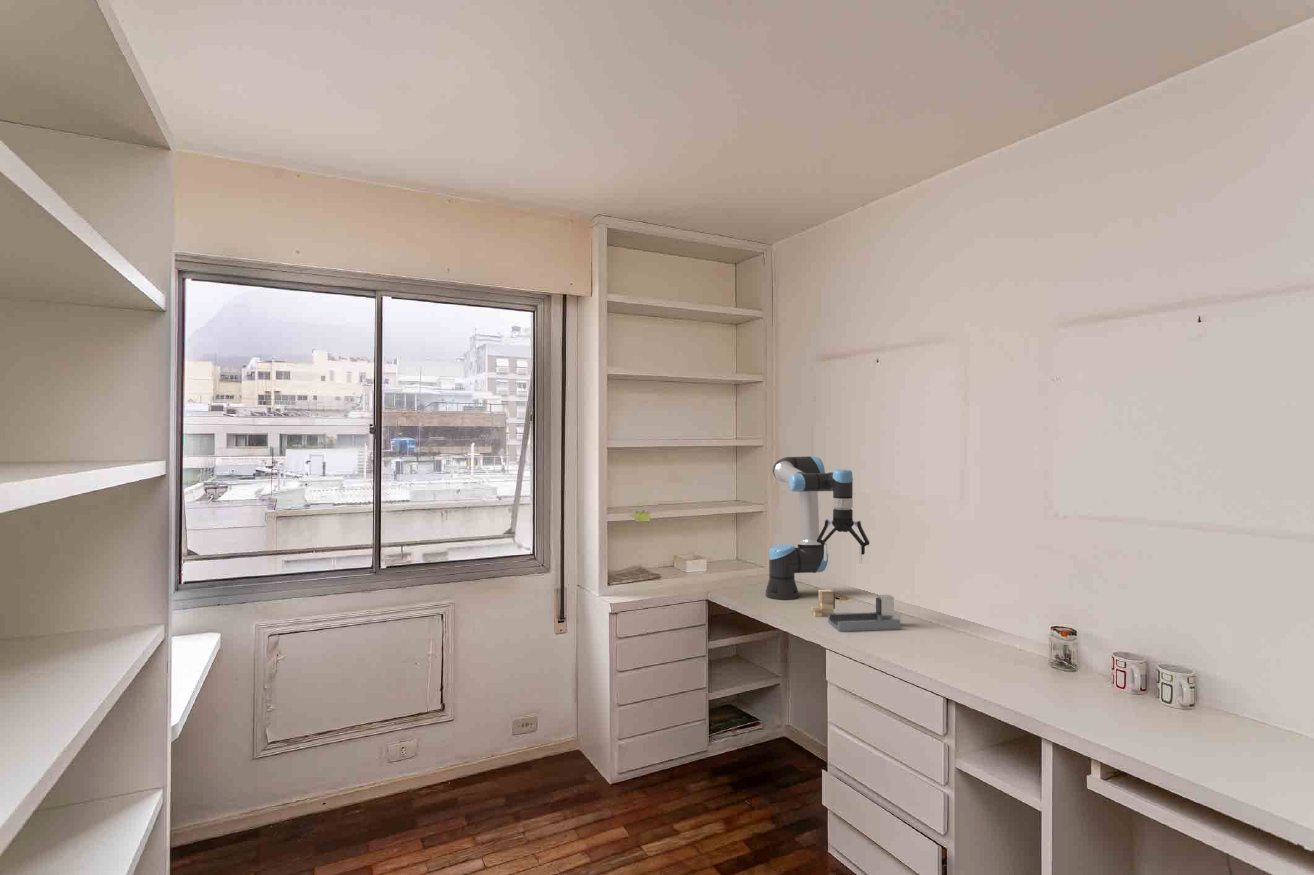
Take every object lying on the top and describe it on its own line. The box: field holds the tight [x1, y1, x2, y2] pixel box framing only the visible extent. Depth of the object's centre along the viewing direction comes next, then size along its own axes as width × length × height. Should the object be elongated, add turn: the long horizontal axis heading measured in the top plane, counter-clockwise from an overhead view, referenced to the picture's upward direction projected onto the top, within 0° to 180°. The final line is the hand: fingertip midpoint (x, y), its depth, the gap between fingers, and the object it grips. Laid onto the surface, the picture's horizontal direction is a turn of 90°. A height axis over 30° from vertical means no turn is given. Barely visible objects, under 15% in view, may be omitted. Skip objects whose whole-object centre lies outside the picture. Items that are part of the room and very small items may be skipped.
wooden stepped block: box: [811, 589, 836, 618], centre depth 278 cm, size 4×9×10 cm, turn 95°
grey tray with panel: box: [827, 594, 902, 633], centre depth 262 cm, size 12×26×12 cm, turn 95°
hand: (842, 561), depth 268 cm, fingers open, 13 cm apart
